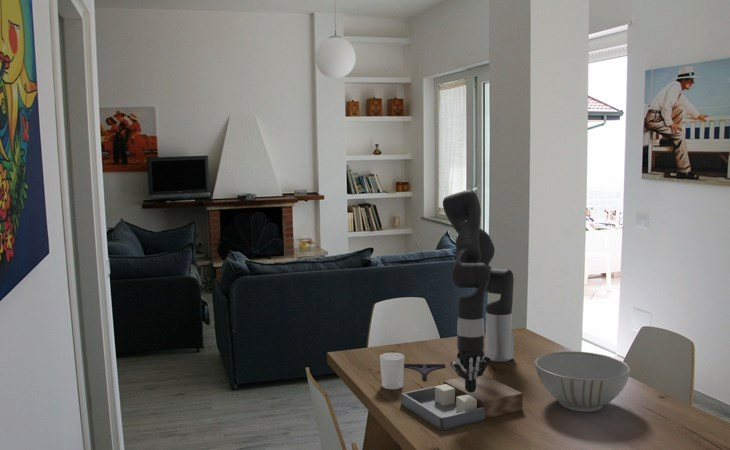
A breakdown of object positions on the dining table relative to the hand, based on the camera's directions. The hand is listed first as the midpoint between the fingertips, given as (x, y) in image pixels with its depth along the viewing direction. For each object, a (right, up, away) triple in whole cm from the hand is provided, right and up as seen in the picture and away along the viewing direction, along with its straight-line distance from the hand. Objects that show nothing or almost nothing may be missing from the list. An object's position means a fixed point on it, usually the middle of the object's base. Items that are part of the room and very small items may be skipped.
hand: (470, 391), depth 187 cm
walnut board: (+5, -6, +9) cm, 11 cm away
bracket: (-10, -4, +37) cm, 39 cm away
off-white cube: (+1, -4, 0) cm, 4 cm away
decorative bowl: (+34, -6, +7) cm, 35 cm away
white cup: (-21, -5, +25) cm, 33 cm away
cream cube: (-5, -3, +9) cm, 11 cm away
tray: (-8, -7, +2) cm, 11 cm away
